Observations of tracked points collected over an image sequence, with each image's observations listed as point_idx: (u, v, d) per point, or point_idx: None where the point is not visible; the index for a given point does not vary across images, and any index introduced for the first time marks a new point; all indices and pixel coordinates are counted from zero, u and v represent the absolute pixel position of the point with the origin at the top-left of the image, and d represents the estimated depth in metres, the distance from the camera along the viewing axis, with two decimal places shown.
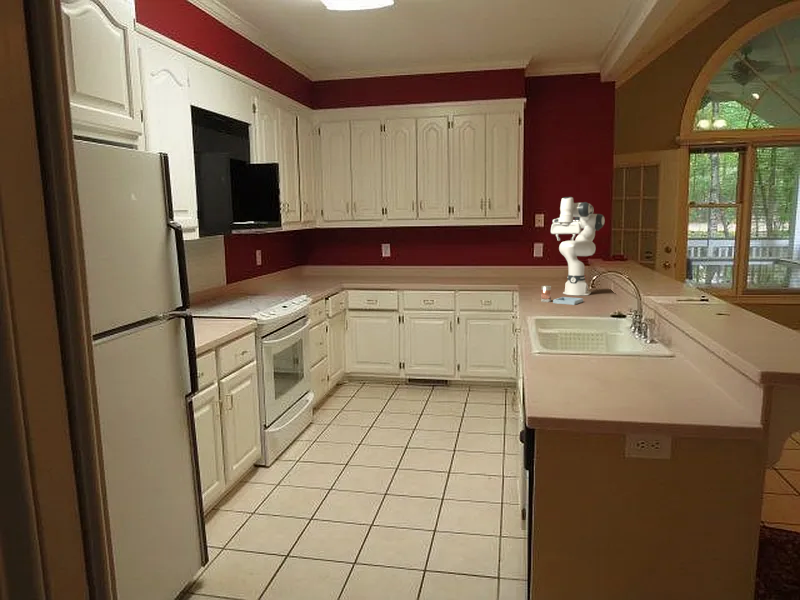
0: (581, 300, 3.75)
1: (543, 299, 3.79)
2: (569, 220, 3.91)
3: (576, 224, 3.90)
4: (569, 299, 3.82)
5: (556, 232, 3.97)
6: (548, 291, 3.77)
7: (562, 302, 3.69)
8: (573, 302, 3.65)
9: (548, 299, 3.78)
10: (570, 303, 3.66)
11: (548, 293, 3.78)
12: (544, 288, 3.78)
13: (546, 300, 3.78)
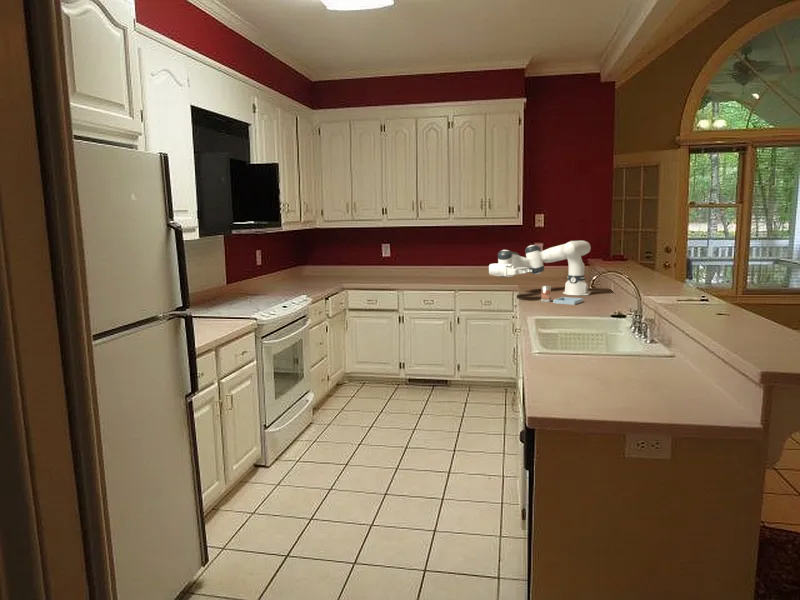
0: (581, 300, 3.75)
1: (543, 299, 3.79)
2: None
3: (519, 267, 3.98)
4: (569, 299, 3.82)
5: (517, 269, 3.84)
6: (548, 291, 3.77)
7: (562, 302, 3.69)
8: (573, 302, 3.65)
9: (548, 299, 3.78)
10: (570, 303, 3.66)
11: (548, 293, 3.78)
12: (544, 288, 3.78)
13: (546, 300, 3.78)
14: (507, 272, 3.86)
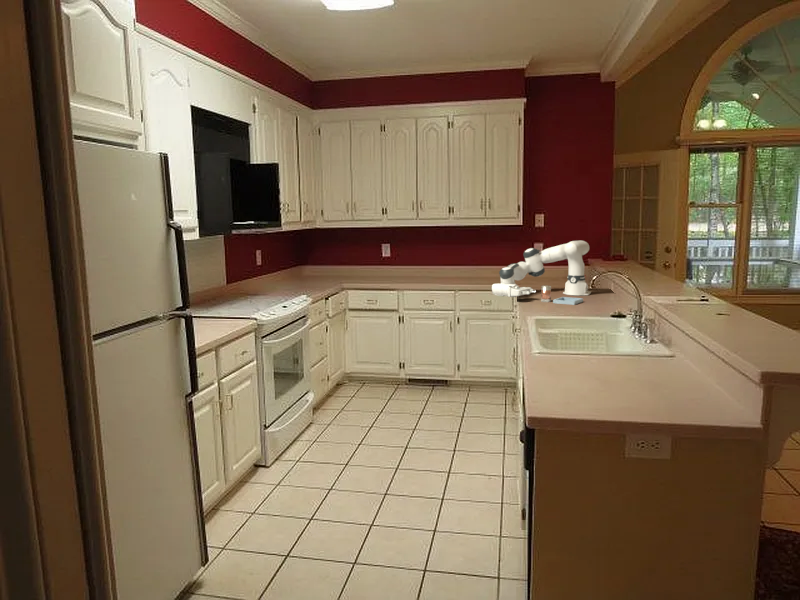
0: (581, 300, 3.75)
1: (543, 299, 3.79)
2: None
3: (522, 287, 3.98)
4: (569, 299, 3.82)
5: (521, 289, 3.84)
6: (548, 291, 3.77)
7: (562, 302, 3.69)
8: (573, 302, 3.65)
9: (548, 299, 3.78)
10: (570, 303, 3.66)
11: (548, 293, 3.78)
12: (544, 288, 3.78)
13: (546, 300, 3.78)
14: (511, 293, 3.85)
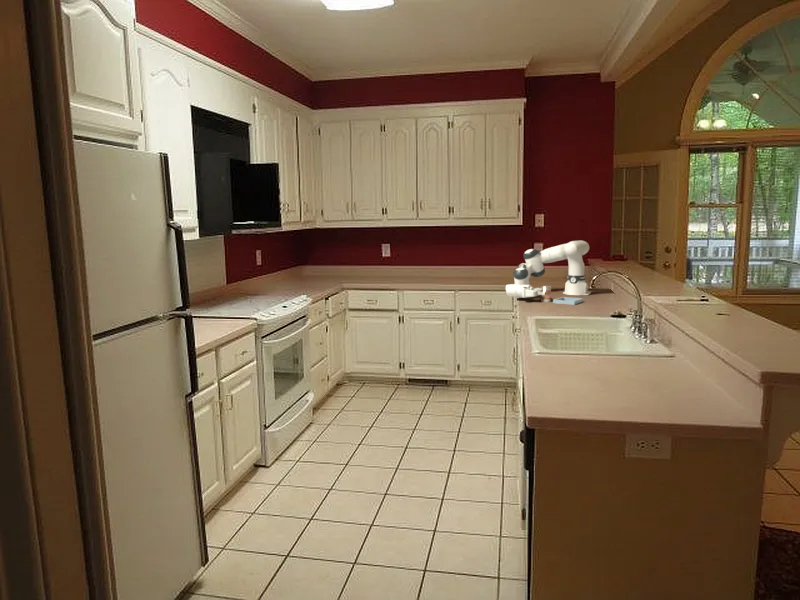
0: (581, 300, 3.75)
1: (543, 299, 3.79)
2: None
3: None
4: (569, 299, 3.82)
5: (536, 290, 3.78)
6: (548, 291, 3.77)
7: (562, 302, 3.69)
8: (573, 302, 3.65)
9: (548, 299, 3.78)
10: (570, 303, 3.66)
11: (548, 293, 3.78)
12: (544, 288, 3.78)
13: (546, 300, 3.78)
14: (525, 294, 3.79)
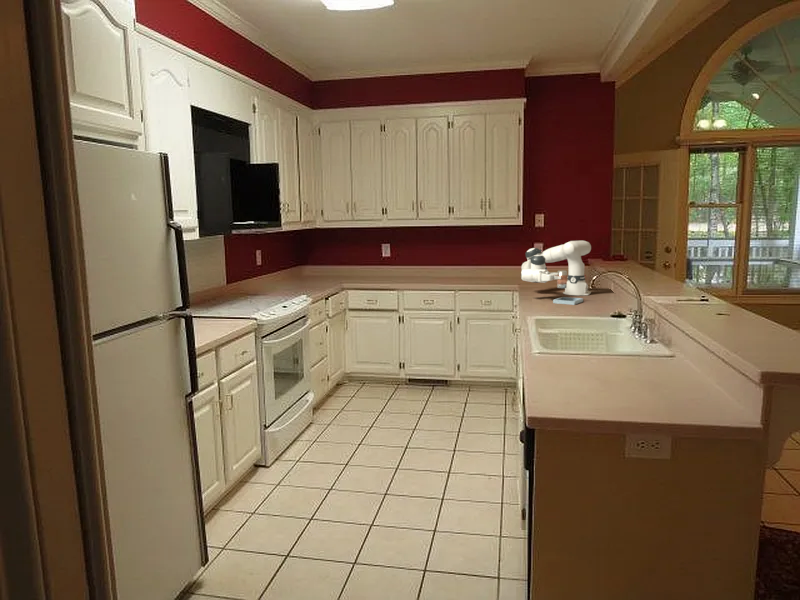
0: (581, 300, 3.75)
1: (559, 284, 3.77)
2: None
3: None
4: (569, 299, 3.82)
5: (552, 274, 3.76)
6: (564, 276, 3.75)
7: (562, 302, 3.69)
8: (573, 302, 3.65)
9: (564, 284, 3.76)
10: (570, 303, 3.66)
11: (564, 278, 3.75)
12: (560, 273, 3.75)
13: (562, 285, 3.76)
14: (541, 278, 3.77)
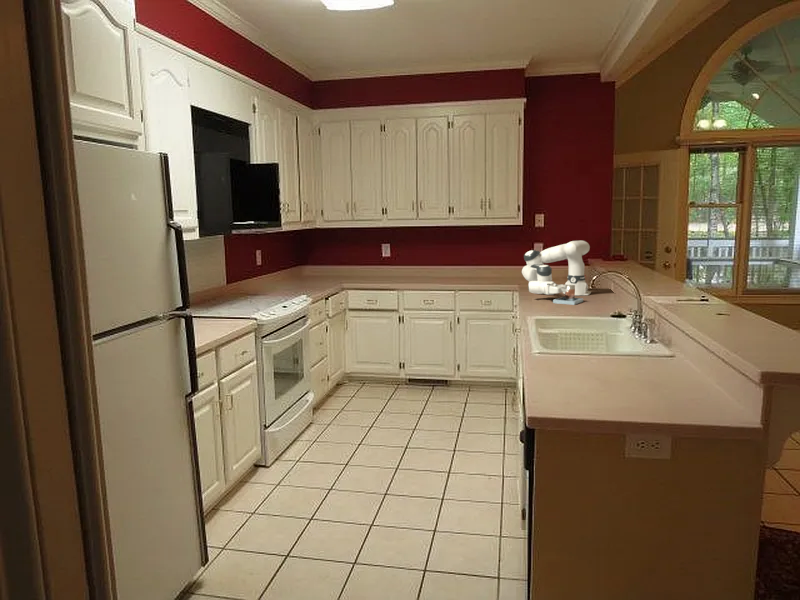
0: (581, 300, 3.75)
1: (567, 298, 3.75)
2: None
3: None
4: None
5: (560, 287, 3.74)
6: (572, 290, 3.74)
7: (562, 302, 3.69)
8: (573, 302, 3.65)
9: (572, 298, 3.75)
10: (570, 303, 3.66)
11: (572, 292, 3.74)
12: (568, 287, 3.74)
13: (570, 299, 3.75)
14: (549, 290, 3.76)
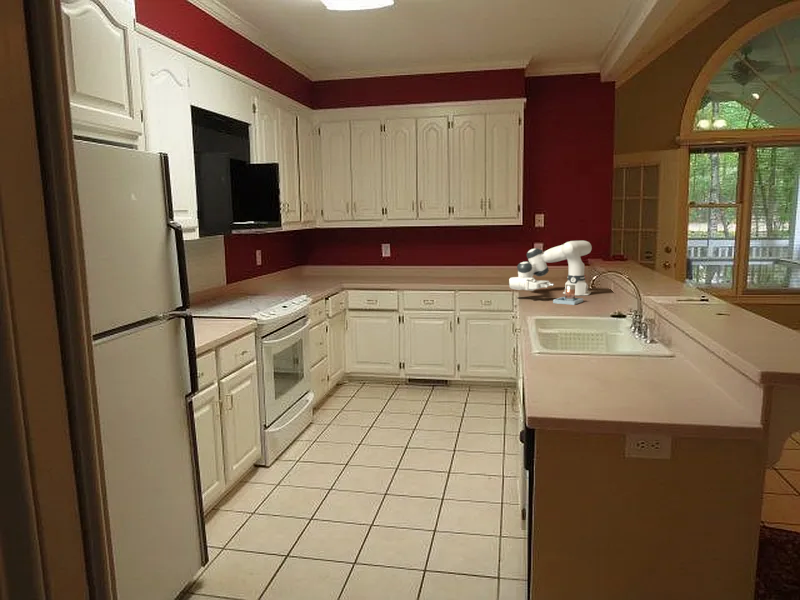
0: (581, 300, 3.75)
1: (567, 298, 3.75)
2: None
3: None
4: None
5: (539, 283, 3.82)
6: (572, 290, 3.74)
7: (562, 302, 3.69)
8: (573, 302, 3.65)
9: (572, 298, 3.75)
10: (570, 303, 3.66)
11: (572, 292, 3.74)
12: (568, 287, 3.74)
13: (570, 299, 3.75)
14: (529, 286, 3.84)
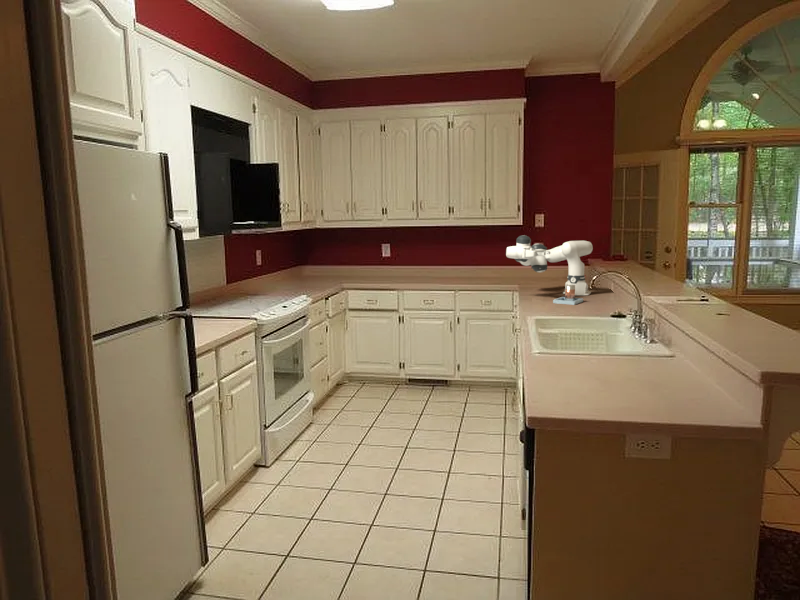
0: (581, 300, 3.75)
1: (567, 298, 3.75)
2: None
3: None
4: None
5: (536, 250, 3.83)
6: (572, 290, 3.74)
7: (562, 302, 3.69)
8: (573, 302, 3.65)
9: (572, 298, 3.75)
10: (570, 303, 3.66)
11: (572, 292, 3.74)
12: (568, 287, 3.74)
13: (570, 299, 3.75)
14: (525, 254, 3.85)
